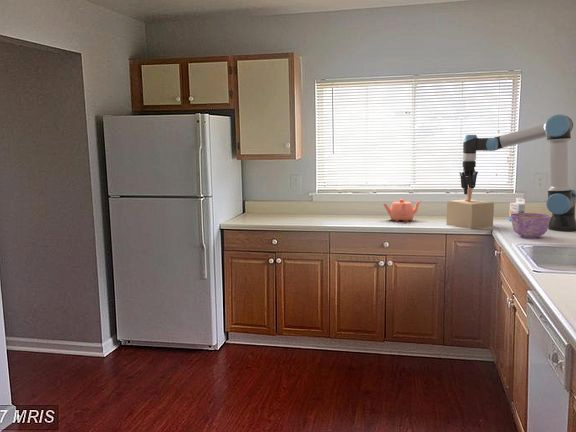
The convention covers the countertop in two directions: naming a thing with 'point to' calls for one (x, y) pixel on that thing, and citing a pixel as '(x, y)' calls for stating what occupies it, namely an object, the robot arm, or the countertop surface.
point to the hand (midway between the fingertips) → (467, 199)
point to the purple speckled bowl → (530, 224)
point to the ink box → (517, 207)
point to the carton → (470, 214)
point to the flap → (463, 199)
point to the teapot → (402, 210)
